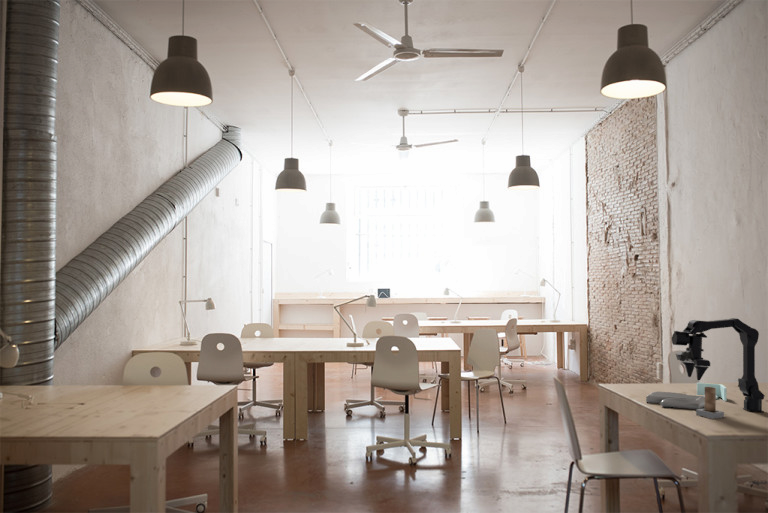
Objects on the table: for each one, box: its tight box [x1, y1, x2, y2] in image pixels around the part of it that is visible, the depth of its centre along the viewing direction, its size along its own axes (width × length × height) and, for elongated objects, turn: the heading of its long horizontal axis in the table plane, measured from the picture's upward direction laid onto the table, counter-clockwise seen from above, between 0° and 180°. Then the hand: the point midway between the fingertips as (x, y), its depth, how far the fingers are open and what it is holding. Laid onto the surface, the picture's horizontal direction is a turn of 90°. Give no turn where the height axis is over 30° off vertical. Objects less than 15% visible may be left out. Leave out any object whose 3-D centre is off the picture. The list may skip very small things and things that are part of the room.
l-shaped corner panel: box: [696, 382, 728, 402], centre depth 312 cm, size 12×12×8 cm
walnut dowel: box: [704, 387, 717, 412], centre depth 268 cm, size 4×4×13 cm
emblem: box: [645, 391, 705, 410], centre depth 294 cm, size 28×5×28 cm
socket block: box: [695, 408, 725, 420], centre depth 268 cm, size 8×8×2 cm
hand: (693, 378), depth 285 cm, fingers open, 9 cm apart
